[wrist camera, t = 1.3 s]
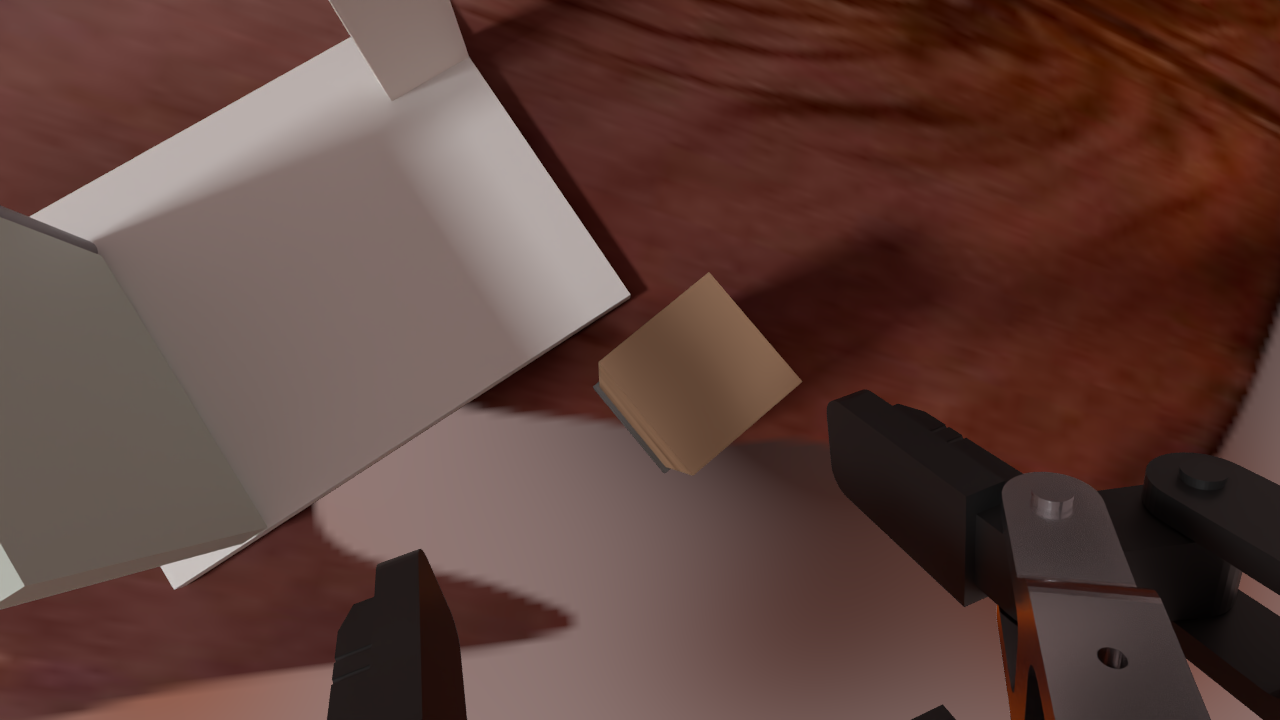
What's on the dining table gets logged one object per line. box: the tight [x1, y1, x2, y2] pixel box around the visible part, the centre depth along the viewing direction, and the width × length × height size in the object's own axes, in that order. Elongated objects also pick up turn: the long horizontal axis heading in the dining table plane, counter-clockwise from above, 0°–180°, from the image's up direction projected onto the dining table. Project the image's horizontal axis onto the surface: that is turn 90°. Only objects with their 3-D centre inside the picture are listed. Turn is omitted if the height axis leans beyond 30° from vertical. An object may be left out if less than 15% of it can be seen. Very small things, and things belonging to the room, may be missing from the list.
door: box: [0, 206, 267, 609], centre depth 23 cm, size 15×2×12 cm, turn 34°
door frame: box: [30, 0, 631, 590], centre depth 23 cm, size 23×18×16 cm
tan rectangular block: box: [593, 273, 802, 475], centre depth 26 cm, size 5×5×10 cm
